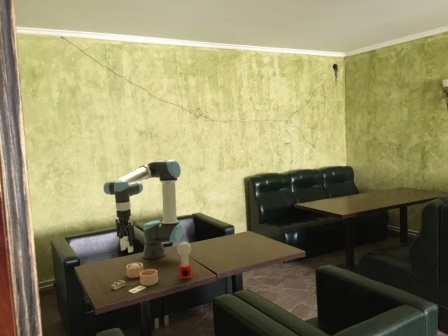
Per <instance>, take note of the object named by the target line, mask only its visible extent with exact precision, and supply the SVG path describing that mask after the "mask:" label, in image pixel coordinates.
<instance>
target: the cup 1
mask: <svg viewBox="0 0 448 336" xmlns="http://www.w3.org/2000/svg"><path fill="white" fill-rule="evenodd" d="M132 264H138V265H139V266H140V267H137V268H130V266H131V265H132ZM125 266H126V267H125V270H126V277H128V278H130V279H132V278H133V279H135V278H140V272H142V271H144V270H145V269H144V263H142V262H131V263H129V264H127V265H125Z"/></svg>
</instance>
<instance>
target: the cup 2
mask: <svg viewBox="0 0 448 336" xmlns="http://www.w3.org/2000/svg"><path fill="white" fill-rule="evenodd" d="M143 270H144V271H142V272H140V277H139V281H140V285H141V286H144V287H148V286H153V285H156V284H157V283H158V282H159V275H158V269H153V268H152V269H143Z"/></svg>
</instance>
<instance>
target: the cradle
mask: <svg viewBox="0 0 448 336" xmlns="http://www.w3.org/2000/svg"><path fill="white" fill-rule="evenodd" d="M126 285H127V282H126V281H125V280H120V279H119V280H118V281H117V282H115V281H114V282H113V284H111V289H112V290H118V289H121V288H122V287H125V286H126Z"/></svg>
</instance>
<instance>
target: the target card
mask: <svg viewBox="0 0 448 336" xmlns="http://www.w3.org/2000/svg"><path fill="white" fill-rule="evenodd" d="M146 288H147V286H144V285H141V284H140V285H138V286H136V287H134V288H131V289H129V290H128V293H131V294H136V293H139V292H141V291H143V290H145V289H146Z"/></svg>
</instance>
